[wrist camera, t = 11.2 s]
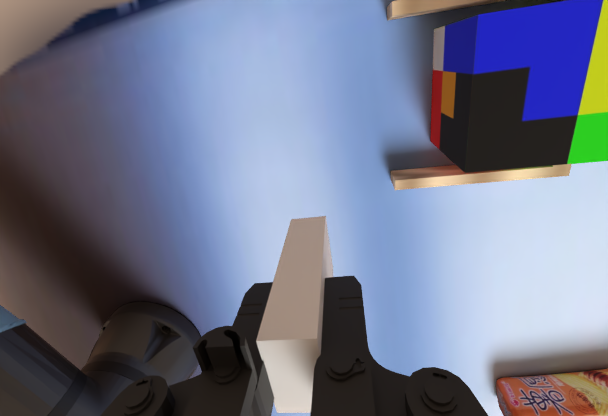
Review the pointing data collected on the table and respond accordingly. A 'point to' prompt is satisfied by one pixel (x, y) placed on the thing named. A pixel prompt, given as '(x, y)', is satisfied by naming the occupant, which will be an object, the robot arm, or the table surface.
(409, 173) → the wooden open frame
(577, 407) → the snack package
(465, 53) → the puzzle toy
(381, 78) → the table surface
